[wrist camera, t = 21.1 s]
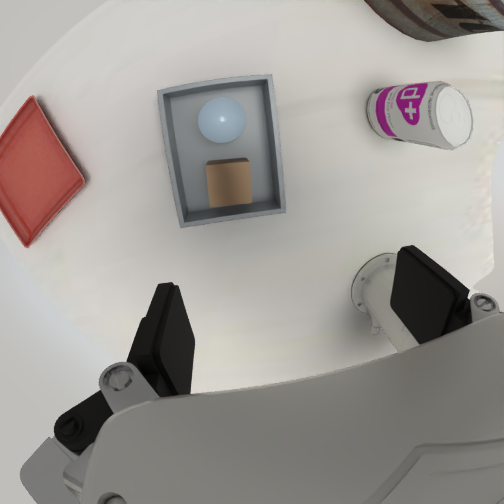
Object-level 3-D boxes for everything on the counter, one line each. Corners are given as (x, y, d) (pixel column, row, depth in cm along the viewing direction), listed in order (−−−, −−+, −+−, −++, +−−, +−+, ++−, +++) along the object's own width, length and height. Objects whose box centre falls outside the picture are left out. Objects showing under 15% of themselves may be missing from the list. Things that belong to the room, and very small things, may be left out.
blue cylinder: (246, 127, 33) (254, 129, 27) (212, 145, 33) (212, 151, 27) (228, 95, 30) (232, 89, 24) (193, 113, 31) (189, 112, 25)
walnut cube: (245, 157, 34) (249, 161, 30) (248, 193, 37) (252, 203, 32) (207, 160, 34) (205, 165, 30) (211, 197, 36) (209, 207, 32)
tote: (278, 202, 38) (286, 212, 33) (185, 215, 37) (180, 228, 33) (265, 81, 30) (272, 74, 26) (165, 95, 30) (157, 90, 25)
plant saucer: (96, 178, 34) (86, 182, 31) (35, 243, 36) (26, 251, 33) (43, 93, 26) (32, 92, 23) (-10, 168, 29) (-21, 172, 26)
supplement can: (357, 121, 34) (423, 125, 20) (375, 78, 31) (442, 66, 17) (396, 148, 36) (464, 165, 22) (413, 107, 33) (481, 110, 19)
